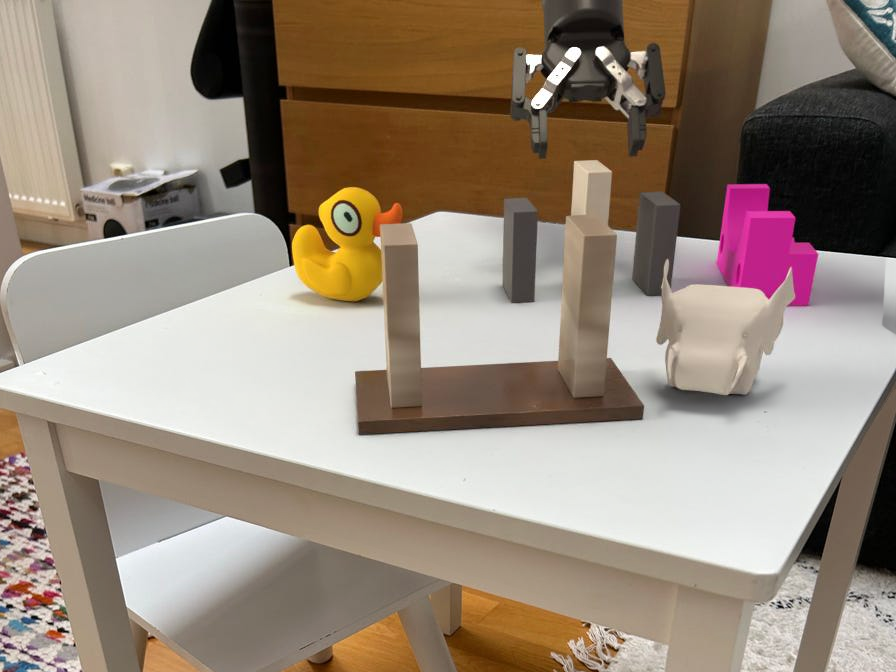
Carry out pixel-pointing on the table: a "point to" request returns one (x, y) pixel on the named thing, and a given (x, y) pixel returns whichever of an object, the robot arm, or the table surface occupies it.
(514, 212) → the dark grey upright posts
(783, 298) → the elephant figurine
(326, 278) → the duckling
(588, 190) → the beige rectangular block
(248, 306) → the table surface
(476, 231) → the table surface
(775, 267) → the toy block
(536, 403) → the book rack
